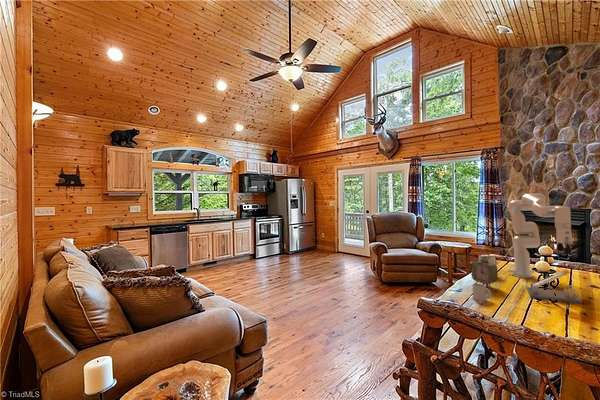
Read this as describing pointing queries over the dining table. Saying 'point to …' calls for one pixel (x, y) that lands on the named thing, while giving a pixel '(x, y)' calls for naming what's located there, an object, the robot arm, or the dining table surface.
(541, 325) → the dining table surface
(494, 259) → the candy bar box
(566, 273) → the hold down bar
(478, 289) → the grey rounded lump
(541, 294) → the clamp plate
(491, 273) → the tabletop clock
